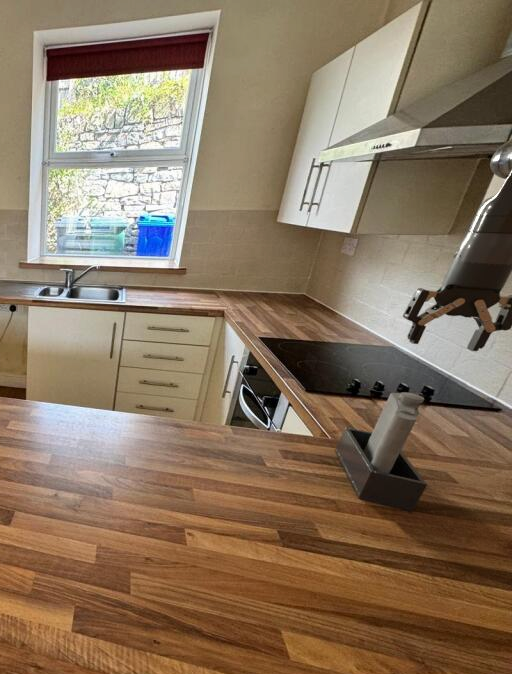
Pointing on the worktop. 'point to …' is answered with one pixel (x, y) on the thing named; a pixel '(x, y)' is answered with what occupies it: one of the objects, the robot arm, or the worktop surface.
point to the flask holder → (378, 474)
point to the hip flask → (392, 430)
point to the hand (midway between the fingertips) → (442, 346)
